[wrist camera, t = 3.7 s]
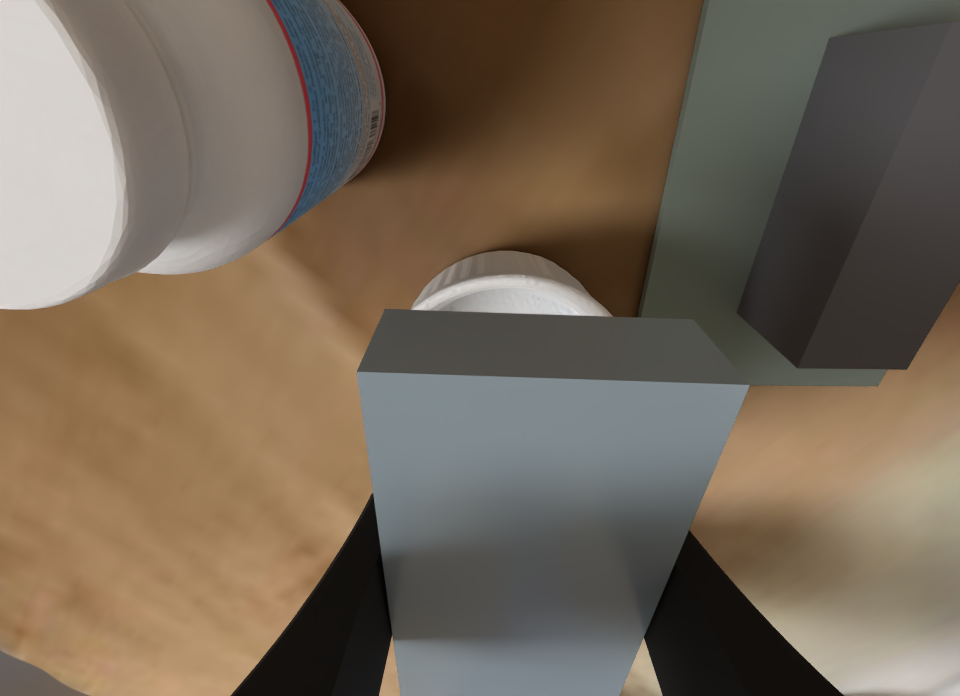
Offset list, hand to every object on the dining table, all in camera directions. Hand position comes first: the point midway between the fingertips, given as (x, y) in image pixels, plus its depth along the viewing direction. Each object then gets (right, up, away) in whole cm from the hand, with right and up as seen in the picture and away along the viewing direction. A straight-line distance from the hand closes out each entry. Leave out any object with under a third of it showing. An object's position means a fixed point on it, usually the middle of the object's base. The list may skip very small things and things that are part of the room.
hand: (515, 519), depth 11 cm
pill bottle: (-7, +13, +3) cm, 15 cm away
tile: (0, 0, 0) cm, 0 cm away
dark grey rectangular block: (+11, +10, +5) cm, 15 cm away
